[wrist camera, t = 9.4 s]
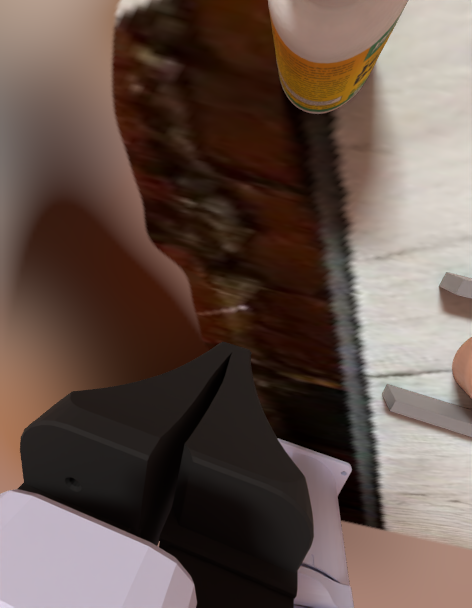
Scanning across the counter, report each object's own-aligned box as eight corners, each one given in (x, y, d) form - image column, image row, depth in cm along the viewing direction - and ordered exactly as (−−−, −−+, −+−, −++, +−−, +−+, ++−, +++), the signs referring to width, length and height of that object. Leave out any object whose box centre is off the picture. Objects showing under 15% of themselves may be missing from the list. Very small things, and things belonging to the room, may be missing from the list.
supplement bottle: (292, -3, 15) (285, -318, 6) (390, 9, 14) (542, -326, 5) (268, 109, 17) (236, -5, 8) (353, 124, 16) (420, 17, 7)
